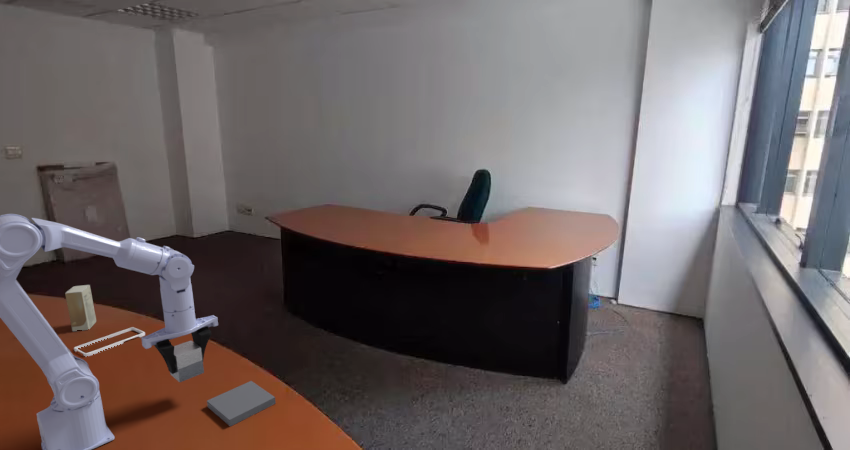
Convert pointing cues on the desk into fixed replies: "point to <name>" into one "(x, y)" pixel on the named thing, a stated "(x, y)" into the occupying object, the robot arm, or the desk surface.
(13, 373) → the desk surface
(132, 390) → the desk surface
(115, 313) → the desk surface
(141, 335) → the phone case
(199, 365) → the block
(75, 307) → the skincare box
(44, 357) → the robot arm
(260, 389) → the stand
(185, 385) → the desk surface
